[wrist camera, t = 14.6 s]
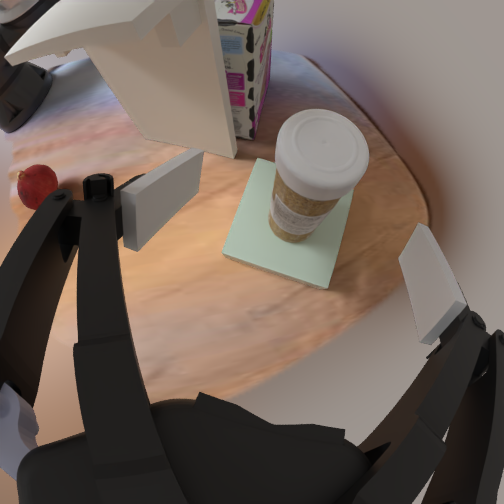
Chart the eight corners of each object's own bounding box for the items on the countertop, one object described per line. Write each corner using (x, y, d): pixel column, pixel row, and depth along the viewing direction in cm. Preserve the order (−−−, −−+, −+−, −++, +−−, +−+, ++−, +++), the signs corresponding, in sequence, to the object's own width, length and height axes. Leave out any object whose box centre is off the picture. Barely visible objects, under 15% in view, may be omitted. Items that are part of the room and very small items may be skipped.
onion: (59, 219, 29) (19, 201, 21) (36, 212, 29) (-1, 195, 21) (74, 178, 30) (38, 153, 22) (49, 175, 30) (16, 152, 22)
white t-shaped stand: (124, 177, 29) (3, 57, 7) (149, 131, 30) (66, -5, 8) (215, 203, 28) (131, 20, 6) (237, 150, 29) (208, -37, 7)
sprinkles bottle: (288, 187, 25) (313, 91, 12) (326, 217, 25) (387, 144, 11) (256, 222, 25) (256, 144, 11) (296, 255, 24) (339, 207, 11)
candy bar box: (257, 142, 30) (253, 24, 13) (214, 136, 30) (184, 24, 14) (272, 78, 31) (276, -23, 15) (236, 74, 31) (225, -25, 15)
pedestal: (225, 257, 27) (221, 252, 24) (257, 170, 29) (257, 157, 26) (320, 289, 27) (327, 288, 24) (345, 200, 28) (353, 189, 25)
